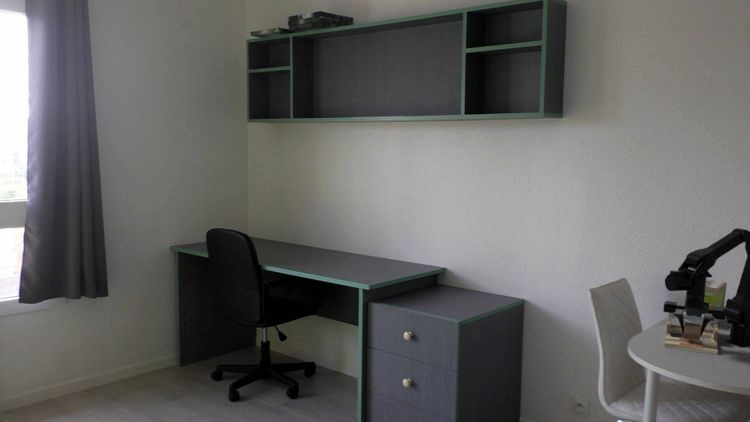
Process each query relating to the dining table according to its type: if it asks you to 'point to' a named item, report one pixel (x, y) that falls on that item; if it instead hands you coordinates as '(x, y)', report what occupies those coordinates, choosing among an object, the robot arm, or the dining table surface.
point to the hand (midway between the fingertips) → (691, 334)
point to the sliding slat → (692, 317)
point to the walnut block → (692, 331)
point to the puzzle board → (692, 344)
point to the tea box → (715, 294)
